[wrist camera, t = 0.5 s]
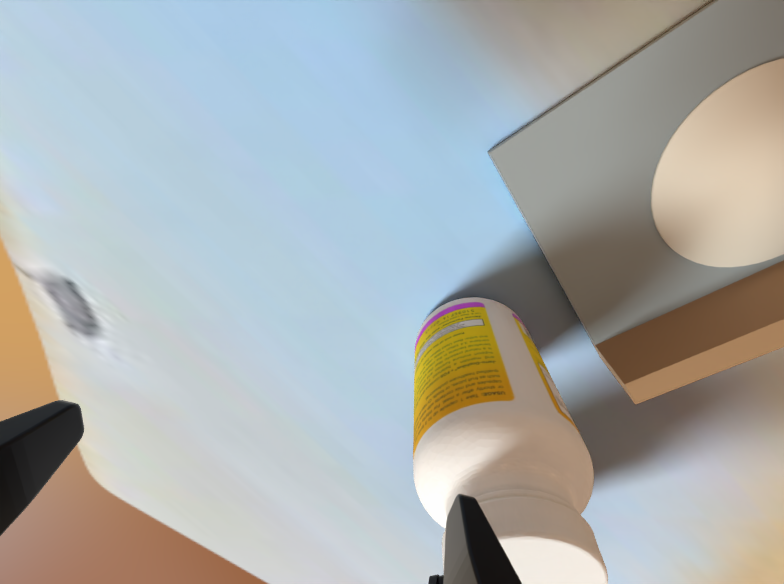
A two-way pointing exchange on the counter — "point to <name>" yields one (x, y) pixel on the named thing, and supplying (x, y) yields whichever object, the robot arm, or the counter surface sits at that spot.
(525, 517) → the supplement bottle
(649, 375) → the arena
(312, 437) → the counter surface
